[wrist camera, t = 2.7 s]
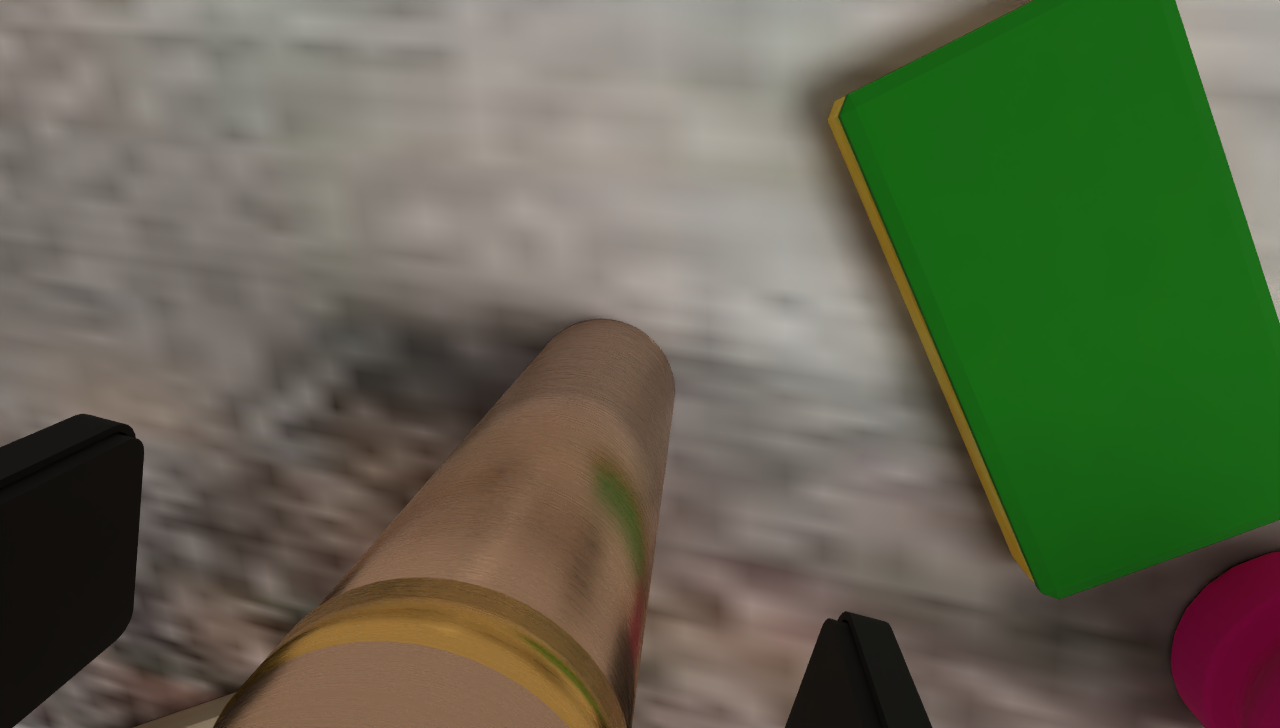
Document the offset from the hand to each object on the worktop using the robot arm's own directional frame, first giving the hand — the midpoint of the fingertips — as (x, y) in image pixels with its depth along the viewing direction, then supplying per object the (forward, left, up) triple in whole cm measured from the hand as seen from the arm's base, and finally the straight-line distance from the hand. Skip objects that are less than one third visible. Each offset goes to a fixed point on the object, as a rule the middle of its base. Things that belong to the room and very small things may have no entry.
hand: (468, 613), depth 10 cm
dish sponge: (-2, -12, -12) cm, 17 cm away
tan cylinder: (0, 0, -12) cm, 12 cm away
